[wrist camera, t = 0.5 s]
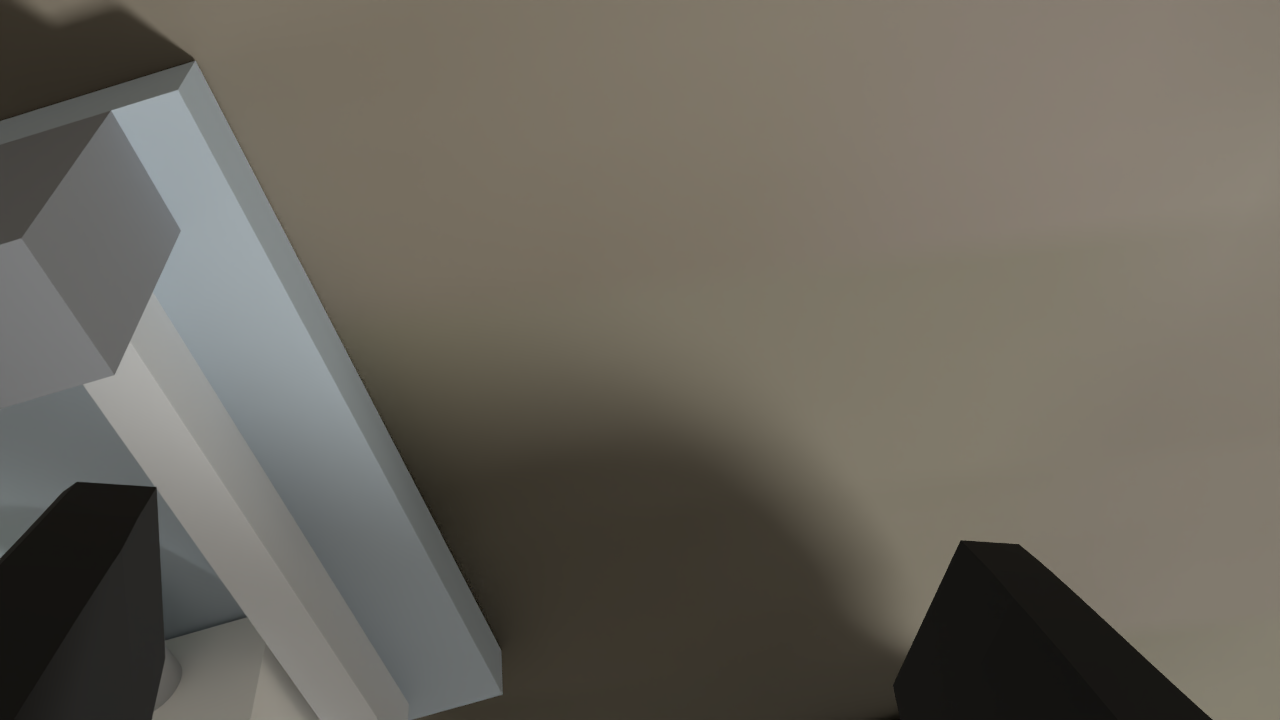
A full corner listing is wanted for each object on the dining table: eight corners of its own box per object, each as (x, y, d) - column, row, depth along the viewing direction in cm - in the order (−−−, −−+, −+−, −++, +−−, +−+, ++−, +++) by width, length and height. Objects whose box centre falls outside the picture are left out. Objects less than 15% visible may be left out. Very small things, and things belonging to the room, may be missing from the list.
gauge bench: (501, 650, 25) (507, 861, 21) (37, 780, 25) (-48, 1010, 21) (196, 60, 17) (104, 213, 12) (-478, 268, 17) (-776, 480, 13)
